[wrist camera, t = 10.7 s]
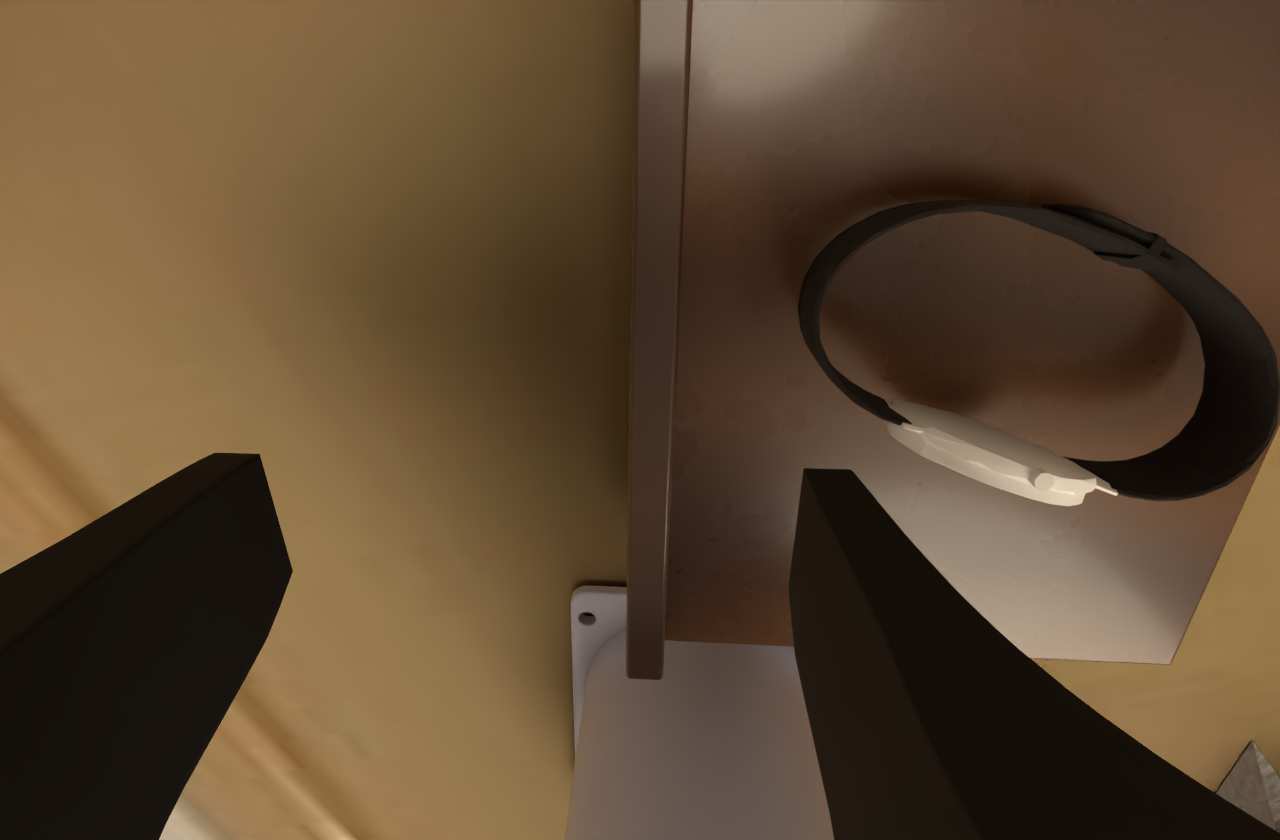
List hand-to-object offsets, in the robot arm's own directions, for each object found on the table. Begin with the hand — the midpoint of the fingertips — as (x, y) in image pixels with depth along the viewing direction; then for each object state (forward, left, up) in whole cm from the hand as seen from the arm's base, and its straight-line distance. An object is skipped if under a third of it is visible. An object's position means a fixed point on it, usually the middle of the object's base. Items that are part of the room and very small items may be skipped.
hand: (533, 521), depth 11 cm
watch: (+1, -8, -5) cm, 9 cm away
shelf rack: (+1, -7, -10) cm, 13 cm away
